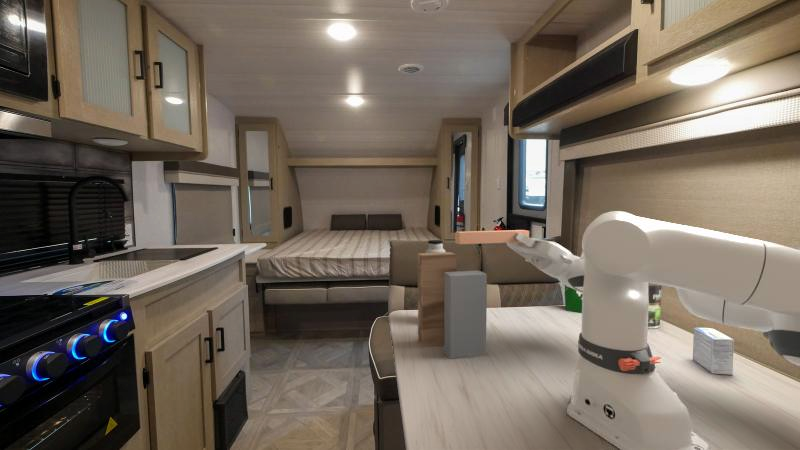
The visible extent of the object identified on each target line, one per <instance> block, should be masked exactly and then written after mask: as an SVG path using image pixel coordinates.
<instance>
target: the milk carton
mask: <svg viewBox="0 0 800 450" xmlns="http://www.w3.org/2000/svg"><path fill="white" fill-rule="evenodd" d="M582 297H583V293H582V292H579V291H577V290H575V289H572V288H570V287H568V286H566V285H565V284H564V305H565V311H569V312H573V313H574V312H575V313H579V314H582Z"/></svg>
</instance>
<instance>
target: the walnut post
mask: <svg viewBox="0 0 800 450" xmlns="http://www.w3.org/2000/svg"><path fill="white" fill-rule="evenodd" d="M457 263H458V262H457V254H456V253H454V252H450V251H449V252H447V251H445V252H443V253H426V252H422V253H417V316H418V317H417V339H418V340H417V341H418V342H419V344H420V346H421V347H422V348H431V347H439V346H440V347H441V346H444V272H458V271H457Z"/></svg>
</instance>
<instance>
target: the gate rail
mask: <svg viewBox="0 0 800 450" xmlns="http://www.w3.org/2000/svg"><path fill="white" fill-rule="evenodd" d="M516 233H521V234H522V235H524V236H526V237H529V238H530V230H525V229H515V230H513V229H512V230H511V229H510V230H509V229H507V230H474V231H473V230H472V231H471V230H470V231H465V230H464V231H455V244H457V245H475V244H505V243H510V242H520V241H517V240H516V239H514V236H515V234H516Z"/></svg>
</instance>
